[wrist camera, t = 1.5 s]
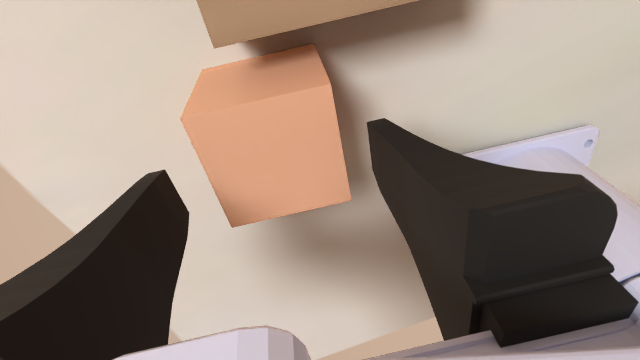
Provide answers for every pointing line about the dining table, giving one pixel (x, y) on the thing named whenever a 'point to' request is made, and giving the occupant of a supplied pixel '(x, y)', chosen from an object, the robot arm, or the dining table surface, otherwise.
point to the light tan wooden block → (277, 16)
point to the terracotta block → (268, 135)
